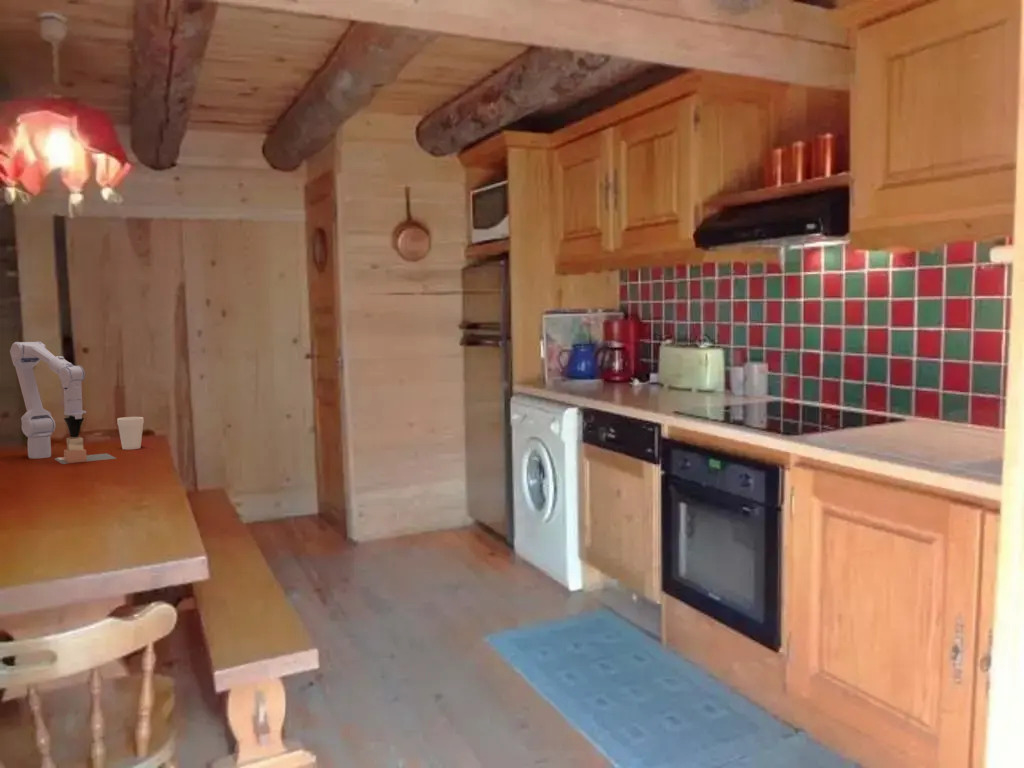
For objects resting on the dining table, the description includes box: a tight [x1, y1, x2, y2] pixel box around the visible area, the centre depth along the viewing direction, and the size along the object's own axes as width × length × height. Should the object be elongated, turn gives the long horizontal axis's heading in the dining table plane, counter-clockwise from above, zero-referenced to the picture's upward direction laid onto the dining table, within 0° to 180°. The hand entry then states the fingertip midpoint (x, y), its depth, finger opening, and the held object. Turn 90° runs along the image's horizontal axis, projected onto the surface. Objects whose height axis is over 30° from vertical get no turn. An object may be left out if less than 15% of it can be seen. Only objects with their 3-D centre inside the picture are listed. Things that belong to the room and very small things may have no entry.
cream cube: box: [66, 436, 84, 451], centre depth 288 cm, size 4×4×4 cm
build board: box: [53, 452, 117, 465], centre depth 294 cm, size 14×18×1 cm
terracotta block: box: [63, 448, 88, 464], centre depth 289 cm, size 6×6×4 cm
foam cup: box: [116, 416, 145, 450], centre depth 318 cm, size 10×9×13 cm
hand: (74, 437), depth 288 cm, fingers closed
